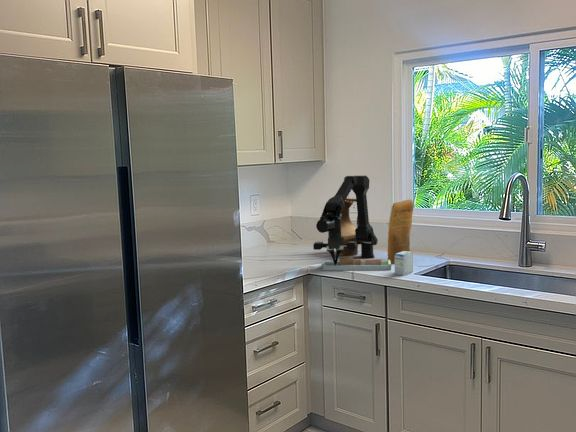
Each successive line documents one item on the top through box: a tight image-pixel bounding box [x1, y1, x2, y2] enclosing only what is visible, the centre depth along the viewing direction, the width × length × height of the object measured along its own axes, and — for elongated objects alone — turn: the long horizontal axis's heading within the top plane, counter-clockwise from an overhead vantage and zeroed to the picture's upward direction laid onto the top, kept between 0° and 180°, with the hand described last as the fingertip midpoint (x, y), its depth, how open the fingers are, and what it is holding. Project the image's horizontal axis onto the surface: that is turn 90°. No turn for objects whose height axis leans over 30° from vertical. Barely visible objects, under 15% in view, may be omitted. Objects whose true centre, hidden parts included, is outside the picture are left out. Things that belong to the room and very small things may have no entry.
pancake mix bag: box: [387, 199, 414, 265], centre depth 262 cm, size 7×19×28 cm, turn 132°
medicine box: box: [394, 251, 414, 276], centre depth 239 cm, size 8×4×9 cm, turn 141°
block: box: [338, 256, 355, 265], centre depth 254 cm, size 5×6×4 cm
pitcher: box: [335, 197, 359, 257], centre depth 286 cm, size 18×17×28 cm
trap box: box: [320, 258, 392, 271], centre depth 255 cm, size 14×30×2 cm, turn 82°
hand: (335, 264), depth 255 cm, fingers closed
